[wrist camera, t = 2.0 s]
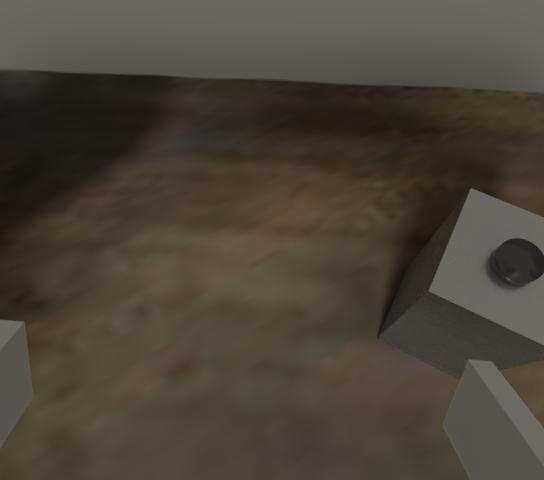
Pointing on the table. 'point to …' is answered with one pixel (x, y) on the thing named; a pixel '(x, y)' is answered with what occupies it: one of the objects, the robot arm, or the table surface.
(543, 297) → the block
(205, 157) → the table surface
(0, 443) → the robot arm
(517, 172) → the table surface
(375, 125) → the table surface
